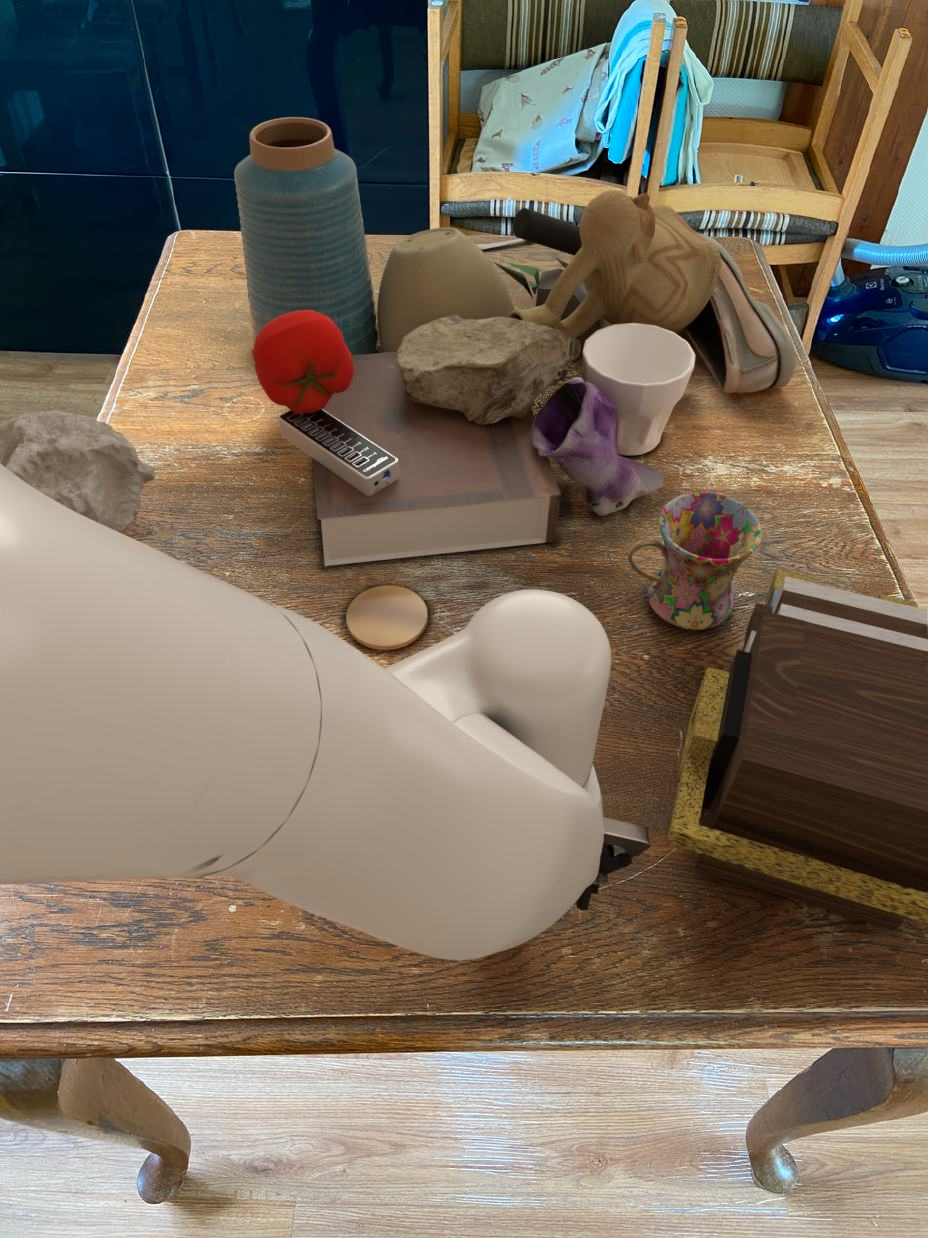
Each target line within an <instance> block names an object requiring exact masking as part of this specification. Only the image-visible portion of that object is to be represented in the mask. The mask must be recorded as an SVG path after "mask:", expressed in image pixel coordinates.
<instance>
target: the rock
mask: <svg viewBox="0 0 928 1238" xmlns="http://www.w3.org/2000/svg"><path fill="white" fill-rule="evenodd" d="M580 354H581V345H580V342H579V340H578V339H576V338H575V337H571V336H569V335H567V334H565V333H563V332H561V331H559V330H556V329H553V328H551V327H548V326H545V325H537V324H536V323H533V322H528V321H523V320H517V319H513V318H508V317H500V316H498V317H491V318H487V319H479V320H473V319H462V318H461V317H460V316H459V315H457V314H454V315H452V316H449V317H444V318H439V319H436V320H433V321H431V322H429V323H427V324H423V325H421V326H419V327H417V328H416V329H414V330H412V331H411V332H410V333H408V334H407V335H406V336H404V337H403V340H402V341H401V344H400V347H399V349H398V351H397V357H396V359H397V364H398V370H399V373H400V376H401V378H402V381H403V384H404V389H405V392H404V394H405V397H406V398H408V399H410V400H413V401H417V402H421V403H426V404H431V405H434V406H438V407H442V408H446V409H454V410H458V411H461V412H463V413H464V414H465V416H466V418H467V419H468V420H469V421H475V422H476V423H478V424H480V425H484V426H485V425H487V424H491V423H495V422H498V421H499V420H501V419H503V418H507V417H510V416H511V415H512V416H514V417H520V418H523V417H525V416H526V415H528V413H529V412H530V410H531V409H532V408H533V407H534V406H535V403H534V402H535V400H536V399H537V398H538V397H539V396H540V395H542V394H544V393H545V392H546V390H547V389H548V388H549V387H551V386H553V387H555V386H557V385H559V384H560V382H561V381H564V380H565V379H566V377H567V375H568V373H569V370H570V367H571V366H572V363H571V362H573V361H574V360H576V359H577V357H578V356H579V355H580Z"/></svg>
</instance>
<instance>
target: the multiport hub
mask: <svg viewBox="0 0 928 1238" xmlns="http://www.w3.org/2000/svg"><path fill="white" fill-rule="evenodd" d="M277 420H278V426H279V433H280V436H281V437H282V438H284V439H285V440H286V441H288V442H289V443H291V444H292V445H294V446H295V447H297V448H298V449H299V450H300V451H302V452H304V454H306V455H308V456H309V457H311V458H312V460H313V459H315V460H316V461H318V462H319V463H321V464H322V465H323V466H325V467H326V468H328V469H329V470H330V471H332V472H333V473H335V474H336V475H338V476H339V477H340V478H342V479H343V480H345V481H346V482H347V483H349V484H350V485H352V486H353V487H355V488H356V489H357V490H359V491H360V492H362V493H363V494H364V495H366V496H372V495H373V494H375V493H377V492H378V491H380V490H382V489H383V488H385V487H386V486H388V485H390V484H391V483H393V482H395V481H396V480H398V479H399V466H398V459H397V458H396V457H394V456H393V455H391V454H390V453H388V452H387V451H385V450H384V449H382V448H381V447H379V446H378V445H376V444H375V443H373V442H372V441H370V440H369V439H367V438H366V437H364V436H362V435H361V434H359V433H358V432H356V431H355V430H353V429H352V428H350V427H349V426H347V425H346V424H344V423H343V422H341V421H340V420H338V419H337V418H335V417H334V416H332V415H331V414H329V413H328V412H326V411H325V410H323V409H320V410H318V411H316V412H314V413H301V414H296V413H294V412H293V411H291V410H290V409H288V410H287V411H285V412H283V413H282V414H279V415H278V417H277Z"/></svg>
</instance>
